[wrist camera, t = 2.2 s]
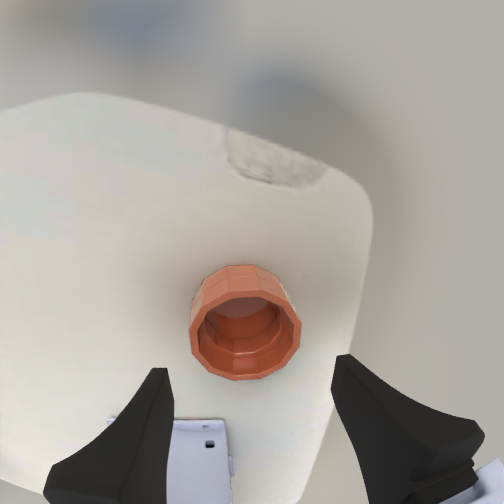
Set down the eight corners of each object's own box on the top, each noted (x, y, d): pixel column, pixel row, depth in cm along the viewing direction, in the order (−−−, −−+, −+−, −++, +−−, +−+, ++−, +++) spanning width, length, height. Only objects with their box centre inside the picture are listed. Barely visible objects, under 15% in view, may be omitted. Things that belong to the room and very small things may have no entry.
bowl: (288, 259, 19) (304, 286, 15) (284, 339, 20) (296, 375, 17) (189, 263, 18) (184, 292, 15) (197, 345, 20) (195, 382, 17)
